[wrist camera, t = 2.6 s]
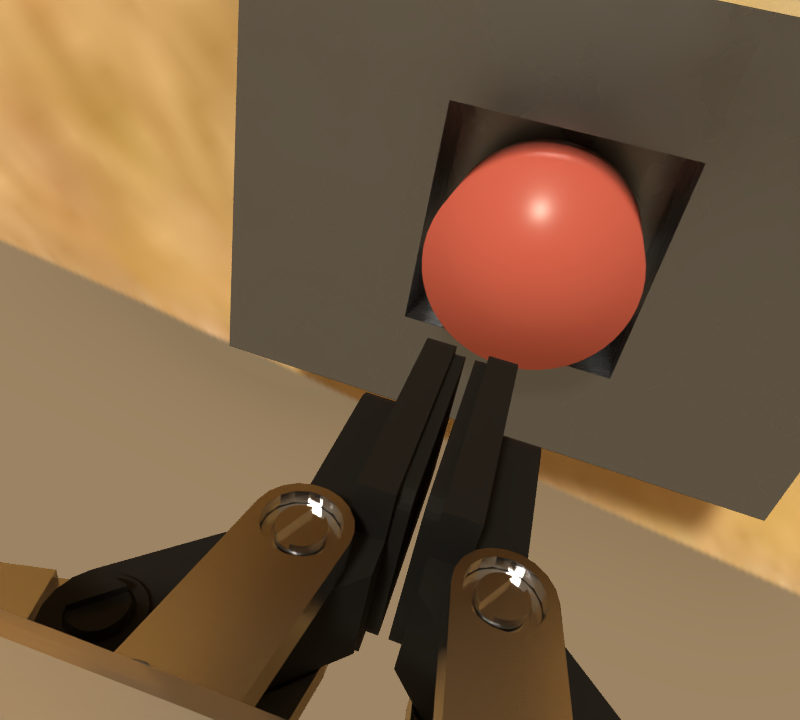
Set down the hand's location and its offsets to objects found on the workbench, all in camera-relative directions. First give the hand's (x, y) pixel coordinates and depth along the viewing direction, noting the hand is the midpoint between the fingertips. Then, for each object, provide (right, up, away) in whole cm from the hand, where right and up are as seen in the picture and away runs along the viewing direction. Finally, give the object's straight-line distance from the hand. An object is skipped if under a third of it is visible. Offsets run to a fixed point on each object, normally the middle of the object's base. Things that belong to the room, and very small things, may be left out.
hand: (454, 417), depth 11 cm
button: (+3, +5, +8) cm, 10 cm away
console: (+5, +7, +12) cm, 15 cm away
